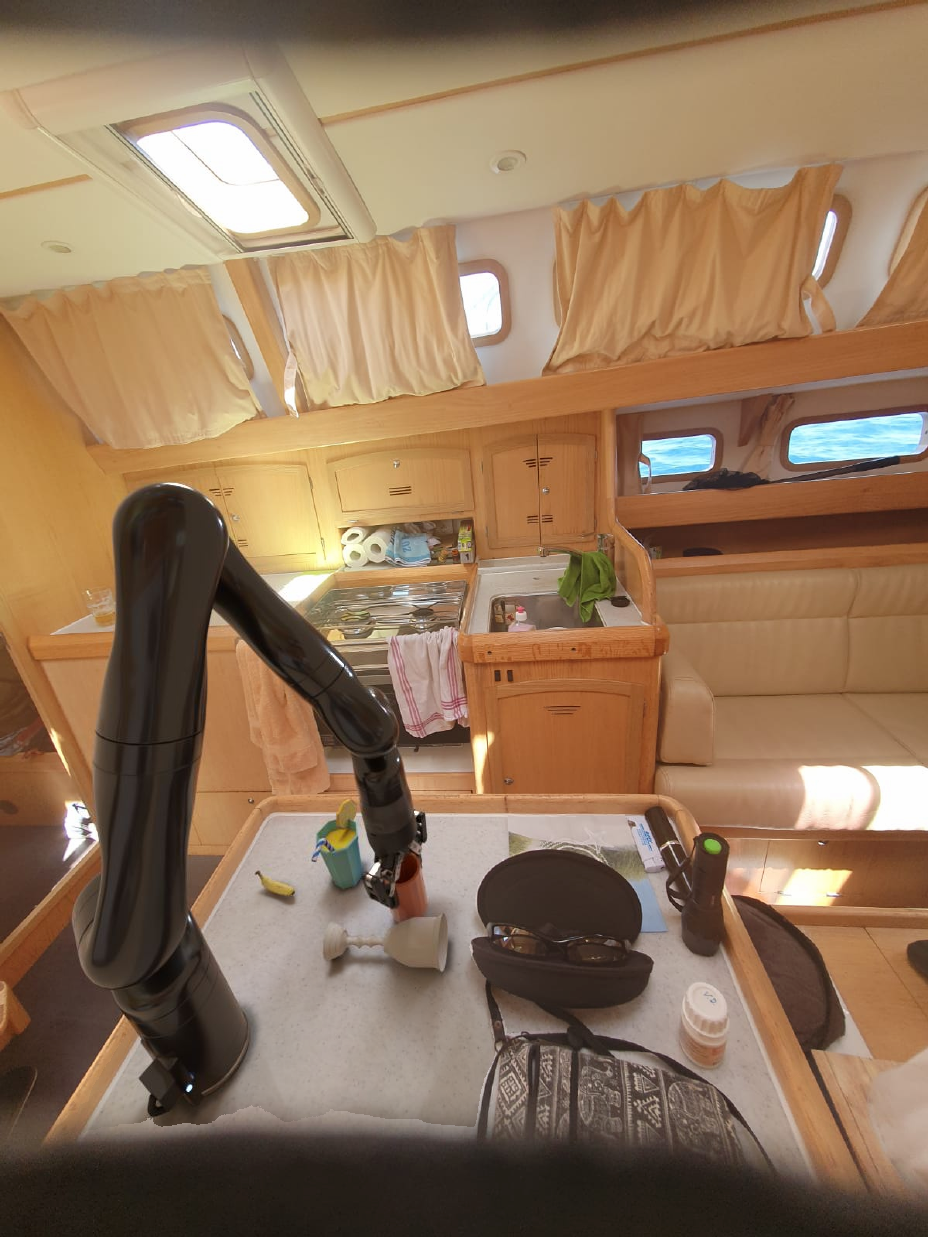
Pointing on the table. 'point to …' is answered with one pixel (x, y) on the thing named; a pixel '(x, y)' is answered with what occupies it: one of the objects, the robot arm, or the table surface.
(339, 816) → the cup
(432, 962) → the chalice
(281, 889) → the banana
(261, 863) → the table surface
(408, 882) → the tumbler
